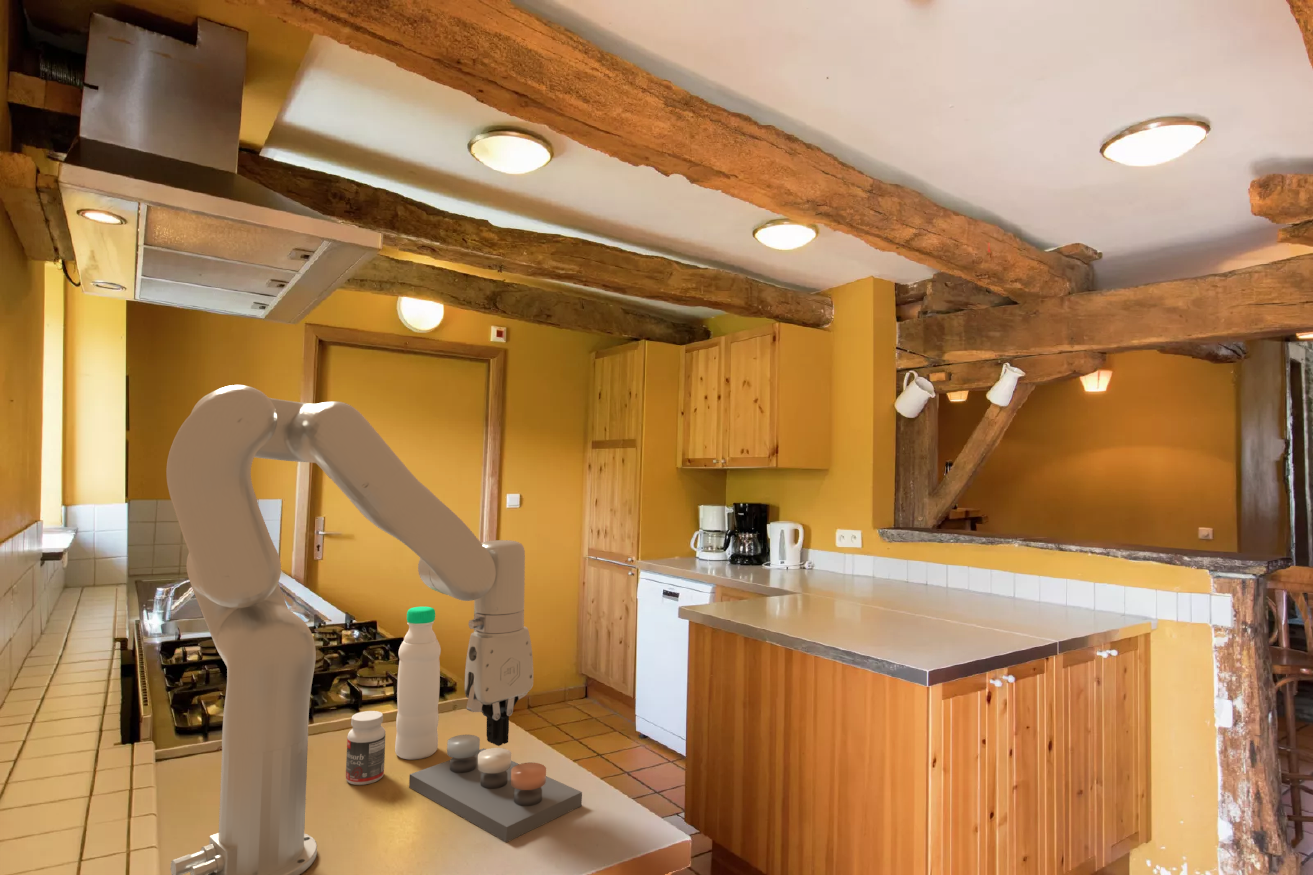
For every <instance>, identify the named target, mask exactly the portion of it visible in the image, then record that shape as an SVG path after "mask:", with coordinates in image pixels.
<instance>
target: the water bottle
mask: <svg viewBox="0 0 1313 875" xmlns="http://www.w3.org/2000/svg"><path fill="white" fill-rule="evenodd" d="M435 620H436V609H435V608H434V607H430V606H415V607H410V608H409V609H408V610H407V612H406V622H407V625H408V631H406V634H405V636H404V637H403V641H401V644H400V646H399V647H398V648H399V649H398V658H399V661H398V669H397V670H398V671H397V687H396V688H397V689H396V690H397V693H396V698H397V699H396V700H397V702H396V703H397V714H396V719H395V720H396V721H395V722H396V723H395V725H396V726H395V727H396V735H395V736H396V737H395V743H394V745H395V746H394V750H395V751H394V752H395V754H396V755H397V757H399V758H400V759H402V760H403V759H404V760H410V761H411V760H421V759H425V758H428V757H430V756H432V755H434V754H435V753H436V752H437V750H438V749H439V748H438V746H439V734H438V728H439V720H440V719H439V710H438V707H439V698H440V685H441V683H440V681H441V678H440V677H441V676H440V675H441V670H440V669H441V668H440V667H441V664H440V657H441V652H442V649H441V644H440V642H439V641H438V639H437V634H436V633H435V631H434V630H433V625H434V623H435Z"/></svg>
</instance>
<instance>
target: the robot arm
mask: <svg viewBox="0 0 1313 875" xmlns="http://www.w3.org/2000/svg"><path fill="white" fill-rule="evenodd" d="M254 458H255V459H256V458H257V459H258V458H259V459H267V460H275V461H276V460H277V461H284V462H287V461H288V462H300V463H312V464H316V465H317V466H318V467H319V468H320V469H321V470H322V471H323V473H324V474H325V475H326V476H327V477H328V478H329V479H331V481H332V482H333V483H334V484H335V485H336V487H337V488H338V489H340V491H341V492H342V493H343V494H344V495H345V497H347V498H348V499H349V501H350V502H351V503H352V505H353V506H355V508H356V509H357V511H359V513H361V515H363V517H365V518H366V520H367V521H369V522H370V523H372V524H373V525H374V526H375V527H377V529H380V530H381V531H383V532H385V533H387V534H388V535H390V536H392V537H393V538H395V539H397V540H399V542H401V543H402V544H404V545H405V546H406V547H408V548H409V549H410V550H411V551H412V552H414V553H415V554H416V555H417V556H418V558H419V560H418V563H417V571H418V575H419V578H420V580H421V581H422V582H423V584H424V585H425V586H427V588H428V589H429V588H430V589H431V590H434V591H435V592H437V593H441V594H442V595H446V596H449V597H452V598H453V599H456V600H458V601H461V602H462V601H465V602H472V601H474V604H473V605H474V606H473V607H474V608H473V610H474V611H473V612H474V613H473V618H472V619H470V620H469V621H468V627H469V629H470V630H472V629H473V632H471V633H470V636H469V641H468V647H467V650H466V658H465V659H466V660H465V667H464V668H465V670H464V694H465V697H466V698H467V702H466V710H467V711H469V712H472V713H482V715H483V717H486V741H487V742H488V743H490V744H493V745H495V746H498V747H500V746H503V745H505V744H507V743H509V733H510V732H509V730H510V725H509V724H510V716H513V715H512V714H513V712H514V707H515V705H516V704H517V702H518V701H520V700H521V699H523V698H524V697H525V696H527V695H528V692H530V691H531V689H533V686H534V660H533V658H534V657H533V648H532V640H531V635H530V630H529V628H528V627H527V626H525V585H526V583H525V578H526V576H525V573H526V572H525V569H526V566H525V565H526V562H525V560H526V554H525V553H526V551H525V547H524V545H523V544H522V543H521V542H519V541H516V540H509V539H508V540H507V539H506V540H505V539H500V540H498V539H497V540H488V541H486V540H485V541H483V542H481V541H480V540H479V539H478V537H477V536H476V535H475V533H474V532H473V531H472V530H471V529H470V528H469V527H468V524H466V523H465V522H464V521H463V520H462V519H461V518H460V517H459V516H458V515H457V514H456V513H455V512H454V511H452V509H451V508H449V507H448V505H446V504H445V503H444V502H442V501H441V499H439V497H437V496H436V495H435V494H434V493H433V492H432V491H431V490H430V489H429V488H428V487H427V486H425V485H424V484H423V483H422V482H421V481H420V480H418V478H416V476H415V475H414V474H413V473H412V472H411V471H410V470H409V468H408V467H407V466H406V465H405V464H404V462H402V460H401V459H400V458H399V457H398V455H397V454H396V453H395V451H393V449H392V448H391V447H390V446H389V445H388V444H387V442H386V441H385V440H384V439H383V438H382V436H381V435H380V434H379V433H378V431H377V430H376V429H375V428H374V427H373V426H372V424H371V423H370V422H369V421H368V420H367V419H366V417H365V416H364V415H363V414H362V413H361V412H360V411H359V410H357V409H356V408H355V407H353V405H351V404H348V403H346V402H344V401H343V402H342V401H334V400H333V401H324V402H319V403H310V402H299V401H293V400H285V399H278V398H271V397H268V395H266V394H265V393H264V392H263V391H262V390H259V389H257V388H255V387H252V386H248V385H244V384H234V385H233V384H232V385H227V386H224V387H220V388H218V389H216V390H213V391H211V392H210V393H207V394H206V395H204V396H203V397H202V398H200V399H199V400H198V401H197V403H195V405H194V407H193V408H192V409H191V413H190V414H189V415H188V417H186V418H185V420H184V422H182V424H181V426H180V427H179V428H178V431H177V432H176V434H175V436H174V438H173V441H172V444H171V446H170V449H169V452H168V456H167V461H166V462H167V463H166V472H165V473H166V483H167V489H168V493H169V498H170V500H171V503H172V506H173V510H174V513H175V516H176V519H177V521H178V524H179V527H180V531H181V534H182V537H183V539H184V542H185V545H186V548H187V550H188V554H187V557H186V572H187V577H188V580H189V583H190V587H191V589H192V591H193V593H194V596H195V598H196V601H197V603H198V606H199V609H200V611H201V613H202V616H203V619H204V621H205V624H206V627H207V629H208V632H209V634H210V635H211V636H210V637H211V639H212V641H213V644H214V646H215V648H216V650H217V652H218V655H219V656H220V658H221V659H222V661H223V662H224V664H225V666H226V669H227V670H226V672H227V673H226V676H227V677H226V688H225V689H226V691H225V698H224V699H225V700H224V708H223V719H222V732H221V734H222V735H221V747H222V749H221V767H220V794H219V818H218V832H217V833H214V834H211V835H209V844H208V845H204V846H202V847H201V848H200V850H199V851H196V852H193V853H191V854H190V853H188V854H186V855H183V856H180V857H178V858H174V859H172V860H171V861H170V873H171V875H185V874H188V873H190V875H301V874H303V873H304V872H305V871H307V869H309V868H310V867H311V866H312V864H313V863H314V862H315V860H316V857H317V854H318V845H317V841H316V840H315V838H314V837H312V836H311V835H309V834H307V833H305V822H306V804H307V803H306V800H307V799H306V795H307V779H308V778H307V776H308V774H307V772H308V751H309V749H308V747H309V746H308V745H309V717H310V716H309V715H310V714H309V713H310V700H311V692H312V684H313V678H314V675H315V674H314V672H315V667H316V658H317V657H316V643H315V640H314V635H313V633H312V631H311V629H310V627H309V626H308V625H307V622H305V621H304V620H303V619H302V618H301V617H300V616H298V615H297V614H295V612H293V611H291V610H289V608H288V605H287V603H286V600H285V598H284V594H283V592H282V589H281V587H280V582H279V581H280V579H281V573H282V562H281V559H280V555H279V552H278V551H277V548H276V547H275V545H274V542H273V539H272V537H271V535H270V533H269V530H268V528H267V524H266V521H265V519H264V517H263V514H262V512H261V509H260V506H259V503H258V499H257V496H256V493H255V490H254V486H253V483H252V482H253V481H252V475H251V474H252V473H251V472H252V464H253V462H254Z"/></svg>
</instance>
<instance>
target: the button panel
mask: <svg viewBox="0 0 1313 875" xmlns="http://www.w3.org/2000/svg"><path fill="white" fill-rule="evenodd" d="M483 750H486V748H484V747H483V748H480V750H479V753H480V752H481V751H483ZM479 753H478V754H479ZM478 754H477V755H475V756H472V757H468V758H453V757H450V759H449V760H447V761H443V762H441V763H438V764H435V765H431V766H429V767H426V768H423V769H420V770H417V771H416V772H412V773H409V780H408V784H409V785H408V787H409V789H411V790H413V791H415V792H417V793H418V794H420V795H422V796H424V797H425V798H427V799H429V800H431V801H433V802H434V803H437V804H438V805H440V806H441V807H443V808H444V809H447V810H449V811H450V812H452V813H454V814H456V815H457V816H459V817H461V818H463V819H464V818H465V820H466V821H468V822H470V823H471V824H473V825H475V826H477V827H479V828H480V829H482V830H484V831H486V832H487V833H489V834H491V835H493V836H495V837H496V838H498V839H500V840H501V841H503V842H504V843H507V842H509V841H512V840H514V839H516V838H519V837H520V836H522V835H523V834H527V833H528V832H530V831H532V830H534V829H537V828H538V827H541V826H542V825H545V824H547V823H549V822H551V821H552V820H555V819H557V818H559V817H561V816H563V815H566V814H567V813H569V812H572V811H573V810H574V811H575V810H576V809H577V808H580V807H582V803H583V797H582V795H583V791H580V790H578V789H576V788H573V787H572V786H570V785H567V784H565V783H562V782H560V781H558V780H556V779H553V778H551V777H549V776H547V775H546V783H545V784H544V785H543V786H542V787H540V788H537V789H533V790H520V789H516V788H514V787H513V786H512V785H511V770H512V768H513V767H514V766H516V765H518V764H519V763H517V762H515V761H514V760H511V767H510V768H509V769H508V770H506V771H504V772H500V773H484V772H481V771H479V770H478Z"/></svg>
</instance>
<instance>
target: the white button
mask: <svg viewBox="0 0 1313 875" xmlns="http://www.w3.org/2000/svg"><path fill="white" fill-rule="evenodd" d="M485 749H486V748H485ZM511 761H512V752H511V750H509V749H507V748H504V747H502V748H501V747H492V748H487V749H486V750H483V751H481V752H480V753H479V754H478V770H479V771H481V772H484V773H500V772H504V771H506V770H508V769H509V768H510V767H511Z"/></svg>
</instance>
